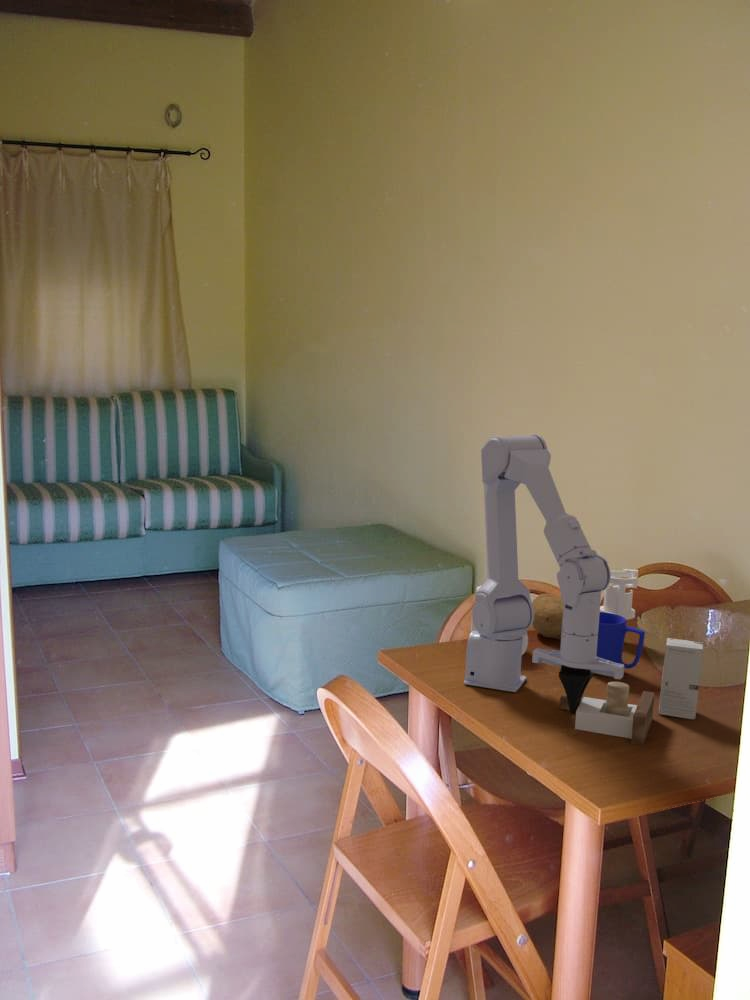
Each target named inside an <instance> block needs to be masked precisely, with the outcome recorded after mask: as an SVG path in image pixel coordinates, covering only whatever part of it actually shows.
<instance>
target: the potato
mask: <svg viewBox="0 0 750 1000" xmlns="http://www.w3.org/2000/svg"><path fill="white" fill-rule="evenodd" d="M531 603H532V605H533V608H534V620H533V623H532V625H531V626H532V627H533V628H534V630H535V631H537V632H538V633H539V634H541V635H542V636H543V637H544V636H545V638H551V639H557V640H560V641H561V632H562V618H563V603H562V599H561V596H558V595H555V594H552V593H541V594H539V595H538V596H536V597H535V598H534V599H533V600H532V601H531Z"/></svg>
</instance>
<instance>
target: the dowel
mask: <svg viewBox="0 0 750 1000" xmlns="http://www.w3.org/2000/svg"><path fill="white" fill-rule="evenodd" d="M605 694H606V695H605V697H606V698H605V700H606V707H605V713H608V714H614V715H620V716H626V717H627V709H628V704H629V694H630V685H629V684H628V683H625V682H621V681H609V682H608V683H607V684H606V693H605Z"/></svg>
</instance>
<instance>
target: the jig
mask: <svg viewBox="0 0 750 1000" xmlns="http://www.w3.org/2000/svg"><path fill="white" fill-rule="evenodd" d="M655 694H656V693H655V692H652V691H646V690H643V691H642V693H641V696H640V698H639V700H638V703H637V705H638V706H637V708H636V711H635V713H634V716H633V727H632V739H630V740H631V742H630V744H632V745H635V746H636V745H637V746H643V747H644V744H645V741H646V738H647V736H648V733H649V730H650V727H651V724H652V722H653V715H654V704H655ZM559 698H560V700H559V710H564V709H567V710H566V711H569V704H568V699H567V695H560V697H559ZM582 700H583V698H581V701H580V703H581V702H582ZM579 705H580V704H579Z"/></svg>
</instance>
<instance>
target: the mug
mask: <svg viewBox="0 0 750 1000" xmlns="http://www.w3.org/2000/svg"><path fill="white" fill-rule="evenodd" d="M628 632H631V633H635V634H638V635H639V638H638V639H639V640H638V644H637V651H636V654H635V658H634V659H633V662H632V663H630V664H629V663H626V662H624V661H623V650H624V644H625V643H624V642H625V638H626V634H627V633H628ZM645 636H646V632H645V630H643V629H640V628H638V627H632V626H628V625H627V620H626V619H625V618H624V617H622V616H620V615H617V614H612V613H606V612H600V615H599V628H598V641H597V654H596V657H599V658H602V659H605V660H609V661H612V662H615V663H619V664H623V665H624V669H632V668H635V667H636V666H637V664H638V663H639V661H640V659H641V655H642V652H643V647H644V642H645Z"/></svg>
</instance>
